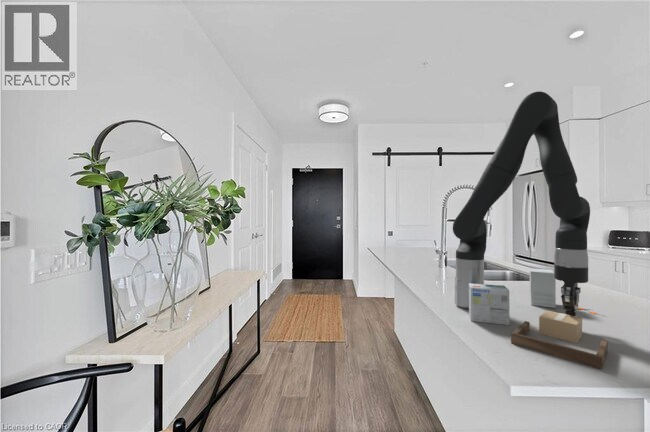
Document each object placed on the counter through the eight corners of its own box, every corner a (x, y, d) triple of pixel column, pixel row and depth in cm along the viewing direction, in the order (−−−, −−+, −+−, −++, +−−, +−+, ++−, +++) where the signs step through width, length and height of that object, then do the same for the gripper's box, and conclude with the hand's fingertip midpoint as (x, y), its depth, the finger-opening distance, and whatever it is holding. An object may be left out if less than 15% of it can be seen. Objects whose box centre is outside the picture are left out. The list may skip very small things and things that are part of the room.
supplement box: (553, 303, 109) (553, 269, 109) (555, 308, 102) (556, 273, 102) (529, 300, 113) (529, 267, 113) (530, 305, 106) (530, 270, 106)
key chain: (556, 310, 102) (556, 307, 102) (557, 305, 108) (557, 302, 108) (607, 318, 94) (607, 315, 94) (604, 312, 100) (604, 310, 100)
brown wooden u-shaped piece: (525, 329, 83) (525, 321, 83) (607, 350, 71) (607, 340, 71) (511, 343, 75) (511, 333, 75) (601, 369, 62) (601, 357, 62)
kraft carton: (546, 327, 86) (546, 310, 86) (582, 335, 80) (582, 317, 80) (539, 334, 81) (539, 316, 81) (576, 344, 75) (576, 324, 75)
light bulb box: (504, 318, 93) (504, 284, 93) (510, 326, 86) (510, 290, 86) (467, 314, 96) (467, 282, 96) (470, 321, 90) (470, 287, 90)
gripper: (558, 260, 91) (558, 315, 91) (549, 265, 82) (549, 326, 82) (591, 263, 86) (590, 321, 86) (585, 268, 77) (584, 334, 77)
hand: (570, 323), depth 84 cm, fingers closed
